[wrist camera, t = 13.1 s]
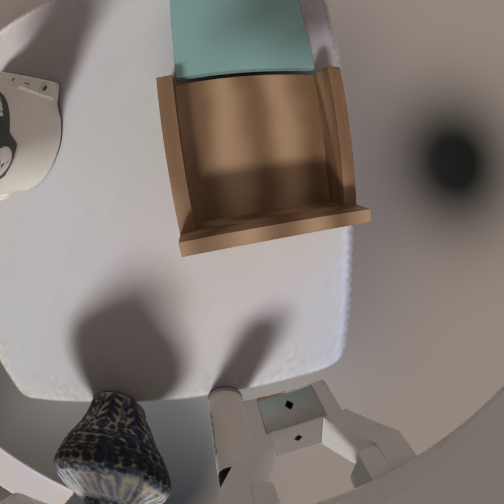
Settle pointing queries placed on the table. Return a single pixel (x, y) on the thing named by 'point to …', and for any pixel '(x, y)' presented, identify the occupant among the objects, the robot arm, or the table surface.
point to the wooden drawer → (258, 158)
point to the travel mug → (227, 427)
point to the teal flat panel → (238, 37)
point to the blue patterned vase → (113, 455)
